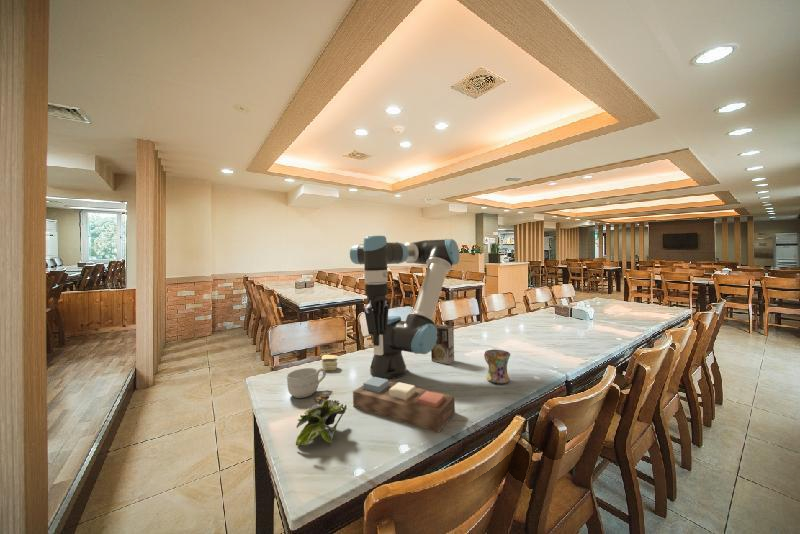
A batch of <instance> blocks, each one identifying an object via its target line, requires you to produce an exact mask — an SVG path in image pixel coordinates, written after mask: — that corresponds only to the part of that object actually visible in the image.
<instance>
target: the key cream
mask: <svg viewBox="0 0 800 534" xmlns="http://www.w3.org/2000/svg"><path fill="white" fill-rule="evenodd" d="M396 383H397V384H396V385H394V386H393V387H391V388H390V389H389V396H391V397H395V398H399V399H403V400H407V399H409V398H410V397H411V396H412V395H413V394H414V393H415V387H416V385H414V384H409V383H404V382H399V381H398V382H396Z"/></svg>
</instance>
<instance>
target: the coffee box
mask: <svg viewBox="0 0 800 534" xmlns="http://www.w3.org/2000/svg"><path fill="white" fill-rule="evenodd" d="M435 327H436V328H437V341H436V344H435V346H434V348H433V349H432V350H431V351H430V352H431V362H432V361H433V363H438V362H439V364H445V365H451V364H452V363H453V362H454V361H455V344H454V343H455V340H454V339H455V338H454V337H455V335H454V331H455V330H454V325H447V324H446V325H445V324H437V323H435Z"/></svg>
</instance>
